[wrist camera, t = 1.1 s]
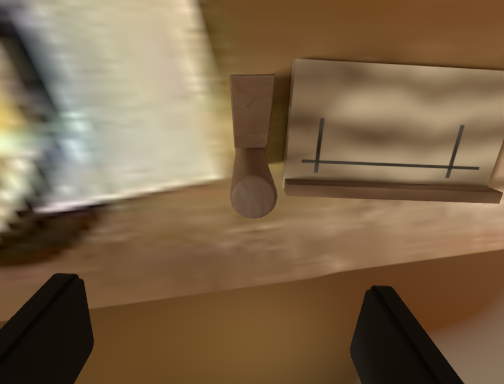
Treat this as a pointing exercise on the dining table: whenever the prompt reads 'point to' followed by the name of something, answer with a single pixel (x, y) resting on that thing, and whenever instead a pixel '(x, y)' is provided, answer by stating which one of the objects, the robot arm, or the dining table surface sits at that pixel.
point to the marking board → (393, 132)
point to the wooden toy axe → (252, 144)
